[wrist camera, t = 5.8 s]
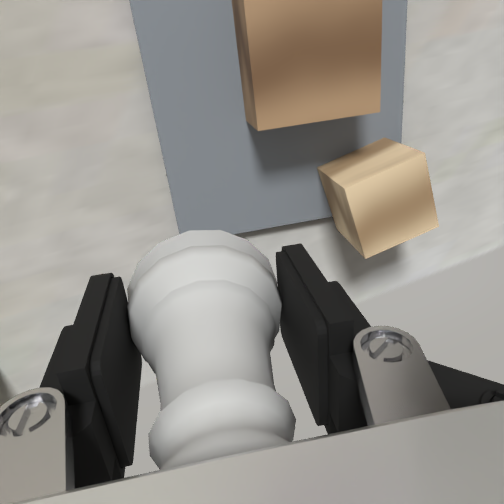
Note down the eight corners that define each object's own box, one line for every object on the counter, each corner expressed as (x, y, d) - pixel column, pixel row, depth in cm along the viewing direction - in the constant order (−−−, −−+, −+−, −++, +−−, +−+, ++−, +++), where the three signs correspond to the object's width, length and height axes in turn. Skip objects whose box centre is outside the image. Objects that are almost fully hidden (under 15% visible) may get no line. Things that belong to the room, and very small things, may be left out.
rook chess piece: (297, 302, 14) (437, 573, 7) (184, 370, 14) (199, 696, 7) (226, 192, 12) (314, 414, 5) (95, 276, 12) (-13, 601, 5)
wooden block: (230, -10, 23) (241, -22, 19) (351, -25, 24) (383, -38, 20) (245, 120, 26) (257, 131, 22) (352, 104, 27) (380, 112, 23)
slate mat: (103, -125, 21) (101, -132, 20) (406, -151, 22) (414, -158, 22) (181, 239, 29) (181, 243, 29) (393, 201, 31) (398, 204, 30)
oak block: (316, 167, 28) (344, 188, 24) (384, 137, 28) (424, 152, 24) (336, 229, 30) (365, 258, 26) (399, 201, 30) (438, 226, 26)
